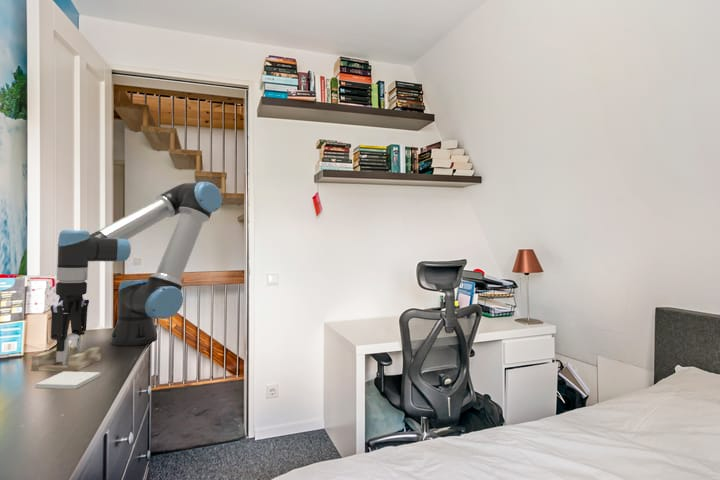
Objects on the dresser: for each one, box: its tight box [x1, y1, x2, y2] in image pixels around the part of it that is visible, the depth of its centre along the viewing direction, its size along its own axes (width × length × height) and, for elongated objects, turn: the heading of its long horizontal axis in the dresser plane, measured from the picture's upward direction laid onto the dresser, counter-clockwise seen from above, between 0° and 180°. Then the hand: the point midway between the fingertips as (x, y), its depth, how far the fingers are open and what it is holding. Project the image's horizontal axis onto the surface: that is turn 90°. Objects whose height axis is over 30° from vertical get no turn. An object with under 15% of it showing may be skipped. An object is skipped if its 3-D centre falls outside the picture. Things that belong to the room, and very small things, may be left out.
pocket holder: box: [30, 346, 102, 372], centre depth 118 cm, size 12×12×4 cm
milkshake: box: [61, 332, 79, 366], centre depth 118 cm, size 4×5×10 cm
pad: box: [34, 371, 102, 390], centre depth 105 cm, size 10×10×1 cm
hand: (68, 359), depth 118 cm, fingers closed on milkshake, 4 cm apart
